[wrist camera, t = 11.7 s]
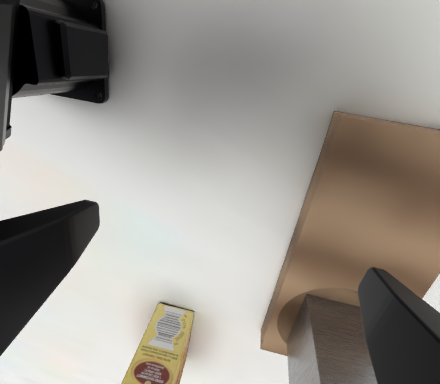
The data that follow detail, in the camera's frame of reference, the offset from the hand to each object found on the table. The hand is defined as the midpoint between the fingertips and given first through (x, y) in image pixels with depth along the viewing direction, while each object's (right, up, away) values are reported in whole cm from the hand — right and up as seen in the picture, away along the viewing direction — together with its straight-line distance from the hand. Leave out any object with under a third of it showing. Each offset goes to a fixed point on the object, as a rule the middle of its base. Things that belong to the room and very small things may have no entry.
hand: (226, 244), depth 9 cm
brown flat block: (+10, -4, +13) cm, 17 cm away
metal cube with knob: (+9, -10, +14) cm, 19 cm away
